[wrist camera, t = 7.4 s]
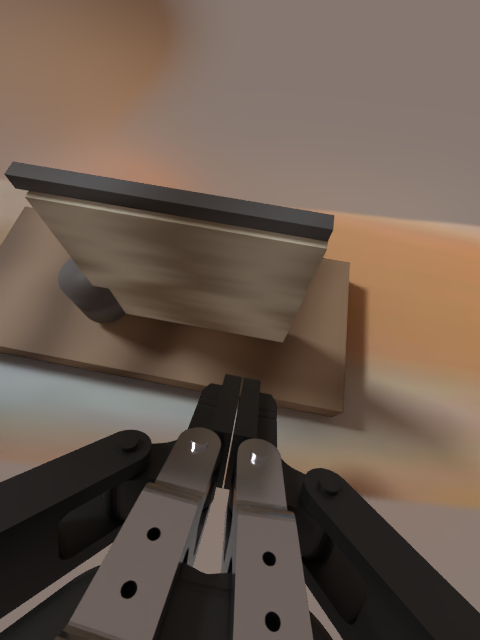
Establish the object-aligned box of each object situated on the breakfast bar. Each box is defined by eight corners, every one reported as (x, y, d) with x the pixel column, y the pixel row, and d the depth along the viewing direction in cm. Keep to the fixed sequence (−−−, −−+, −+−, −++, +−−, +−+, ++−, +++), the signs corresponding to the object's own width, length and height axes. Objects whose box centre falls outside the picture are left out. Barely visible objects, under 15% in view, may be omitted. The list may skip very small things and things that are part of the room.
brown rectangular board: (-31, 346, 21) (-61, 333, 18) (39, 225, 25) (21, 202, 23) (332, 416, 20) (345, 411, 18) (340, 277, 24) (351, 259, 22)
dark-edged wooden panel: (74, 318, 19) (-59, 192, 10) (93, 276, 20) (-11, 132, 11) (281, 356, 18) (331, 260, 10) (287, 311, 19) (336, 188, 11)
